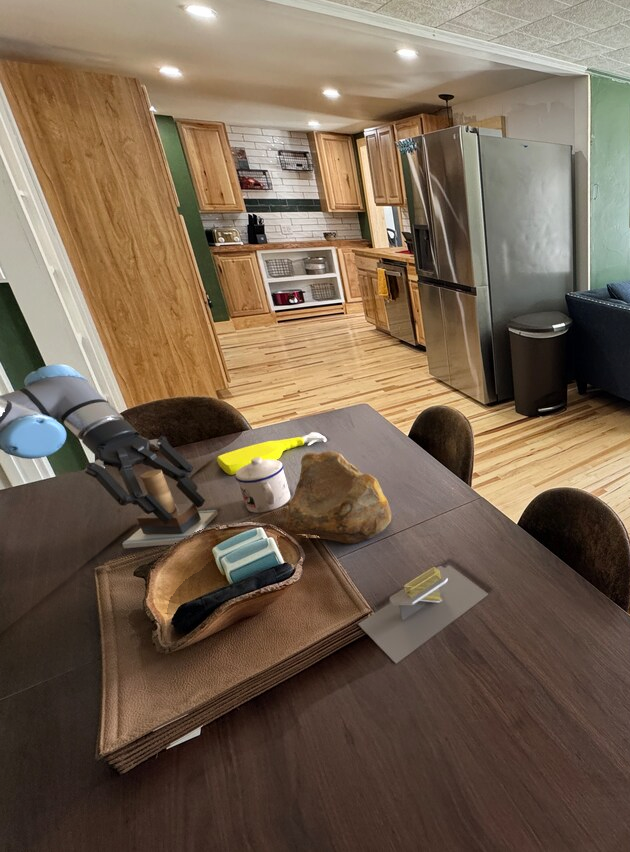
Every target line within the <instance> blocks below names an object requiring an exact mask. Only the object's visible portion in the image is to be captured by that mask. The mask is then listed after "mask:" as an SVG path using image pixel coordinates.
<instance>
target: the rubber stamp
mask: <svg viewBox="0 0 630 852" xmlns="http://www.w3.org/2000/svg"><path fill="white" fill-rule="evenodd" d="M140 479H141V481H142V483H143V486H144V489H145V490H146V492H147V494H150V495H151V496H152V497H153V498H154V499H155V500H156V501H157V502H158V503H159V504H160V505H161V506H162V507H163V508H164V509H165V510H166V511H167V512H168V513H169V514H170V515H171V516H172V517H173V518H172V520H171V521H170V523H169V524H167V525H165V524H164V523H163V522H162V521H161V520H160V519H159V518H158V517H157V516H156V515H155V514H154V513H153V512H152V513H150V514H147V513H145V512H144V513H142V514H141V515H139V516H137V517H136V520H137V522H138V525H139V526H140V528H141V529H142V531H143V534H183V533H185V532H186V531H187V530H188V529H190V528H191V527H192V526H193V525H195V524H196V523H197V522H198V521H200V520H201V518H200V515H199V512H198V511H199V509H198V507H197V506H196V505H195V504H194V503H175V499H174V497H173V495H172V492H171V490H170V487H169V485H168V482H167V480H166V478H165V474H163V472H162V470H156V469H152V470H149V471H145V472H144V473H143V474H141V475H140Z"/></svg>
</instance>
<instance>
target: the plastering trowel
mask: <svg viewBox="0 0 630 852" xmlns="http://www.w3.org/2000/svg"><path fill="white" fill-rule="evenodd" d="M403 587H404V588H402V589H401V590H398V591H397V592H396V593H394V594H393V595H391V596H389V603H388V604H386V605H384V606H383V607H381V608H380V609H378V610H377V611H375V612H374V613H372V614H371V615H369V616H368V617H366V618H365V619H363V620H361V621H360V622H359V623H357V625H358V626H359V627H360V628H361V629H362V630H363V631H364V632H365V633H366V635H368V636H369V637H370V639H372V640H373V641H374V643H375V644H376V646H378V647H379V648H380V650H382V651H383V652H384V653H385V654H386V655H387V656H388V657H389V658H390V659H391V660H392V662H394V664H396V665H398V663H399V662H401V661H402V660H403V659H405V658H406V657H408V656H409V655H410V654H411V653H413V652H414V651H415V650H417V649H418V648H419V647H421V646H422V645H424V644H425V643H426V642H427V641H429V640H430V639H432V638H433V637H434V636H435V635H437V634H438V633H440V632H441V631H442V630H443V629H445V628H446V627H448V626H449V625H450V624H452V623H453V622H454V621H456V620H457V619H458V618H460V617H461V616H462V615H463V614H465V613H466V612H468V611H469V610H470V609H471V608H473V607H474V606H476V605H477V604H478V603H480V602H481V601H482V600H483V599H485V598H486V597H488V596H489V593H488V592H486V591H485V590H484V589H482V588H481V587H480V586H478V585H477V584H476V583H474V581H471V580H470V579H468V578H467V577H466V576H465V575H463V574H462V573H461V572H459V571H458V570H456V569H455V568H454V567H453V566H451V565H447V566H446V567H444V566H442V565H438V566H437V567H435V566H433V567H431V568H430V569H428V570H427V571H425V572H423V573H422V574H420V575H419V576H417V577H415V578H413V579H412V580H411V581H409V582H407V583H406V584H404V585H403Z"/></svg>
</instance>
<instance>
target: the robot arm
mask: <svg viewBox="0 0 630 852" xmlns="http://www.w3.org/2000/svg"><path fill="white" fill-rule="evenodd" d="M23 382H24V387H22V388H20V389H18V390H14V391H11V392H8V393H5V394H2V395H0V450H1V451H3V452H4V453H5V454H7V455H9V456H13V457H17V458H20V459H27V460H33V459H34V460H35V459H41V458H46V457H48V456H50V455H52V454H54V453H56V452H58V451H59V450H60V449H61V448H62V447H63V445H65V442H66V440H67V430H66V429H65V427H66V428H68V429H69V431H70V432H71V433H72V434H73V435H74V436H75V437H77V438H78V439H79V440H81V442H82V444H83V445H84V446H85V447H86V448H87V449H88V450H89V451H90V452H91V453H93V455H94V456H95V457H96V460H94V461H93V462H88V463H87V464H86V467H85V469H84V473H85V474H87V475H88V476H90V477H93V478H95V479H96V480H97V482H98V483H99V484H100V485H101V486H102V487H103V488H104V489H105V490H106V491H107V493H109V495H110V496H111V497H112V498H113V499H114V500H115V501H116V502H117V504H118V505H120V506H123V507H124V506H127V505H129V504H131V505H133V506H138V507H139V508H140V509H141V510H142V511H143V512H144V513H147V514H150V513H152V512H153V513H154V514H155V515H156V516H157V517H158V518H159V519H160V520H161V521H162V522H163V523H164V524H165V525H167V524H169V523H170V521H171V520H172V518H173V517H172V516H171V515H170V514H169V513H168V512H167V511H166V510H165V509H164V508H163V507H162V506H161V505H160V504H159V503H158V502H157V501H156V500H155V499H154V498H153V497H152V496H151V495H150V494H148V493H147V494H146V495H144V493H143V490H142V488H141V485H140V484H139V481H138V479H137V477H136V474H135V472H134V470H133V467H134V466H137V465H144V466H146V467H150V468H152V469H153V470H162V472H163V475H164V476H167V477H168V478H170V479H172V480H174V481H176V482H177V483H176V485H175V487H176V488H177V489H178V490H180V492H181V493H182V494H184V496H185V497H186V498H187V499H188V500H189V501H190V502H191V503H192V504H195V505H196V507H197V509H199V508H201V507H203V505H204V503H205V502H206V499H205V498H204V497H203V496H202V495H201V494H200V493H199V492H198V491H197V490H198V488H199V487H198V484H196V483H195V482H194V481H193V480H192V479H191V478H190V476H191V475H192V473H193V471H194V469H195V467H194V466H193V465H192V464H190V462H189V461H188V460H186V459H185V457H183V456H182V455H181V453H179V452H178V451H177V450H176V449H174V447H172V446H171V445H170V443H169V441H168V438H167V437H166V436H164V435H160V436H159V437H158V438H156V439H155V438H154V439H148V438H146V437H143V436H142V435H141V434H140V432H139V431H138V430H136V428H134V427H133V425H132V424H130V422H128V421H127V419H125V418H124V416H123V415H122V414H121V413H120V412H119V411H118V410H117V409H116V408H115V407H114V406H113V405H111V403H110V402H108V400H106V398H104V397H103V396H102V395H101V394H100V392H99V391H98V390H97V389H96V388H95V387H94V386H93V385H92V384H91V383H90V382H89V380H88V379H87V378H86V377H84V376H83V375H82V374H81V373H79V371H77V370H76V369H75V368H73V367H72V366H71V365H67V364H62V363H61V364H60V363H59V364H58V363H56V364H49V365H45V366H42V367H39V368H38V369H37V370H35V371H31V372H30V373H29V374H27V375H26V377H25V378H24V380H23ZM57 420H59V421H60V422H59V421H57ZM61 423H62V424H61ZM63 425H64V426H65V427H64V426H63ZM150 447H152V448H153V449H154V450H155V451H158V452H159V454H161V455H162V456H163V457H164V459H166V460H167V461H166V460H164V459H163V458H161V457H159V456H157V454H156V453H155V452H153V451H152V450H150ZM105 466H108V467H113V468H116V470H117V472H118V474H119V476H121V478H122V481H123V483H124V486H125V488H126V490H127V491H126V490H125V489H124V488H123V486H122V485H121V484H120V483H119V482H118V480H116V479H115V477H113V476H112V475H111V473H110V472H109V471H108V470H107V469H106V467H105Z"/></svg>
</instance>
